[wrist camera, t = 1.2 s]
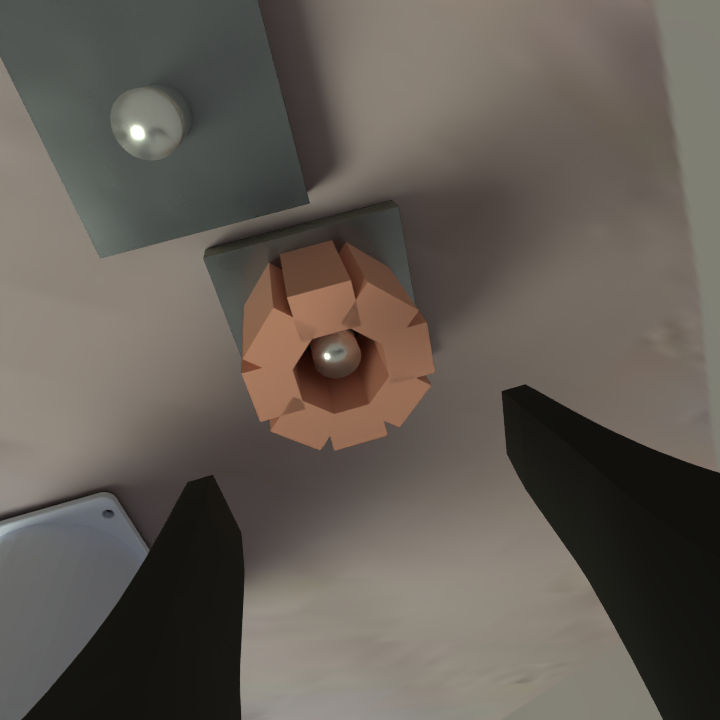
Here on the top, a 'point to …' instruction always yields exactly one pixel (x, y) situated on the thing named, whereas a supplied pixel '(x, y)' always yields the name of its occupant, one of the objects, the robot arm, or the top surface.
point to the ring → (326, 316)
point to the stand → (251, 256)
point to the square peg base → (155, 113)
